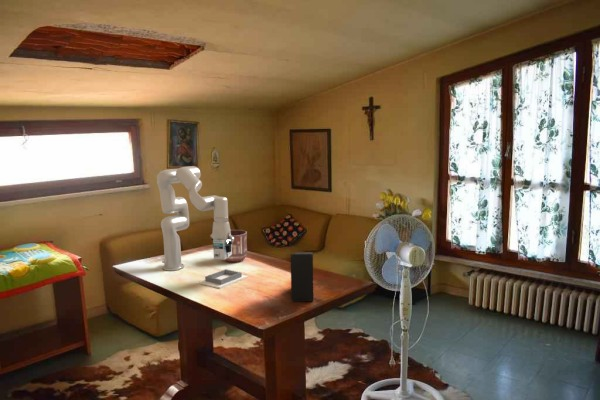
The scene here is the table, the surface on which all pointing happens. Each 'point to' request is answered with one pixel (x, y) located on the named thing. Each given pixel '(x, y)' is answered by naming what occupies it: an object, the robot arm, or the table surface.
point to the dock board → (223, 278)
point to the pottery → (238, 246)
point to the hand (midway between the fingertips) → (222, 251)
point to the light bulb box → (220, 249)
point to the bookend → (302, 276)
